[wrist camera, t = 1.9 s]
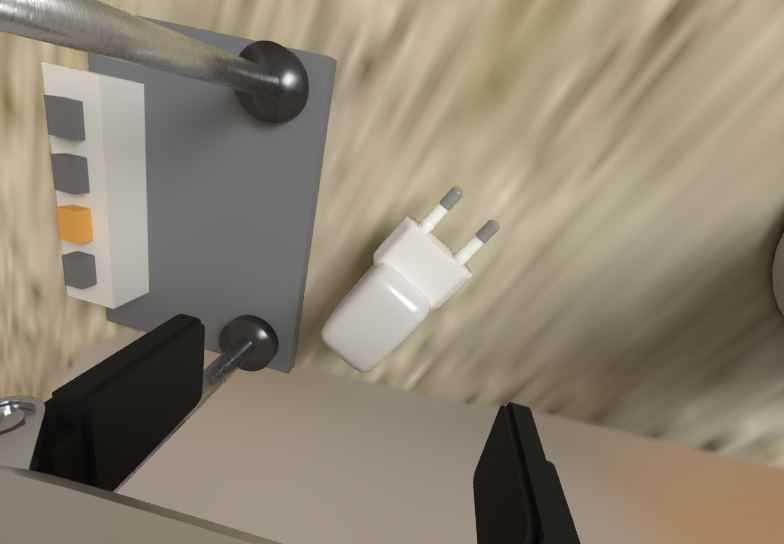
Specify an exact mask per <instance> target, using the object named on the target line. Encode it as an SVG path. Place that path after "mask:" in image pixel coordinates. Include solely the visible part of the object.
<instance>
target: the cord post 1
mask: <svg viewBox="0 0 784 544" xmlns="http://www.w3.org/2000/svg"><path fill="white" fill-rule="evenodd" d="M0 31H2V32H6V33H10V34H14V35H18V36H22V37H26V38H30V39H34V40H38V41H42V42H46V43H50V44H54V45H58V46H62V47H67V48H71V49H75V50H79V51H83V52H87V53H91V54H95V55H99V56H103V57H107V58H111V59H115V60H119V61H123V62H127V63H131V64H135V65H139V66H143V67H147V68H151V69H156V70H160V71H164V72H168V73H172V74H176V75H180V76H184V77H188V78H192V79H196V80H200V81H204V82H208V83H212V84H216V85H220V86H224V87H228V88H232V89H234V90H235V94H236V96H237V99H238V101H239V102H240V104H241V106H242V107H243V108H244V110H245V111H246V112H247V113H248V114H250V115H251V116H252V117H254V118H255V119H258V120H260V121H263V122H269V123H286V122H289V121H291V120H293V119H294V118H296V117H297V116H298V115H299V114H300V113H301V112H302V110H303V109H304V107H305V105H306V102H307V99H308V94H309V81H308V76H307V72H306V70H305V68H304V66H303V64H302V62H301V61H300V59H299V58H298V57H297V56H296V55H295V54H294V53H293V52H291V51H290V50H288V49H287V48H285V47H283V46H281V45H279V44H277V43H275V42H271V41H257V42H254V43H252V44H250V45H248V46H247V47H246V48H244V50H243V51H242V52H241V53H240V55H239V56H236V55H233V54H231V53H228V52H226V51H223V50H221V49H218V48H216V47H213V46H211V45H208V44H206V43H203V42H201V41H198V40H196V39H193V38H191V37H188V36H186V35H183V34H181V33H178V32H176V31H173V30H171V29H168V28H165V27H163V26H160V25H158V24H155V23H153V22H150V21H148V20H145V19H143V18H140V17H138V16H135V15H133V14H130V13H128V12H125V11H123V10H120V9H118V8H115V7H113V6H110V5H108V4H105V3H103V2H100V1H98V0H0Z"/></svg>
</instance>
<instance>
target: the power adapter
mask: <svg viewBox="0 0 784 544" xmlns="http://www.w3.org/2000/svg"><path fill="white" fill-rule="evenodd" d="M462 196H463V191H462V189H461V188H459V187H453V188H452V189H451V190H450V191H449V192H448V193H447V194H446V195H445V196H444V197H443V199H442V200H441V201H440V203H439V204H438V205H437V206H436V207H435V208H434V209H433V210H432V212H431V213H430V214H429V215H428V216H427V217H425V218H424V219H423V220H422V222H421V223H419V222H418V221H417V220H416V219H414V218H412V217H409V216H407V217H406V218H405V219H404V220H403V221H402V222H401V223H400V224H399V225H398V226H397V227H396V228H395V230H394V231H393V232H392V233H391V234H390V235H389V236H388V237H387V239H386V240H385V241H384V242H383V243H382V244H381V245H380V247H379V248H378V249H377V250H376V251H375V253H374V256H373V260H374V264H373V265H372V266H371V267H370V269H369V270H368V271H367V272H366V273H365V274H364V275H363V276H362V277H361V279H360V280H359V281H358V282H357V283H356V284H355V285H354V286H353V288H352V289H351V290H350V291H349V292H348V293H347V295H346V296H345V297H344V298H343V299H342V301H341V302H340V303H339V305H338V306H337V307H336V309H335V310H334V311H333V313H332V314H331V315H330V317H329V318H328V319H327V321H326V322H325V324H324V326H323V328H322V330H321V338H322V341H323V342H324V343H325V344H326V345H327V346H328V347H329V348H330V349H331V350H332V351H333V352H335V353H336V354H337V355H338V356H339V357H341V358H342V359H343V360H344V361H345V362H347V363H348V364H349V365H350V366H352V367H353V368H354V369H356V370H357V371H359V372H369V371H371V370H372V369H373V368H375V367H376V366H377V365H378V364H379V363H380V362H381V361H382V360H383V359H385V358H386V357H387V356H388V355H389V354H390V353H391V352H392V351H393V350H394V349H395V348H396V347H397V346H398V345H399V344H400V343H401V342H402V341H403V340H404V339H405V338H407V337H408V336H409V335H410V334H411V333H412V332H413V331H414V330H415V329H416V328H417V327H418V325H419V324H420V323H421V322H422V321H423V320H424V319H425V317H426V316H427V314H428V312H429V310H435V309H437V308H439V307H440V306H441V305H442V304H443V303H444V302H445V301H446V300H447V299H448V298H449V297H451V296H452V295H453V294H454V293H455V292H456V291H457V290H458V289H459V288H460V287H461V286H462V285H463V284H464V283H465V282H466V281H467V280H468V279H469V278H470V277H471V276H472V272H471V271H470V269H469V268H468V267H467V265H466V264H465V263H466V262H467V261H468V260H469V259H470V258H471V256H472V255H473V254H474V253H475V252H476V251H477V250H478V249H479V248H480V247H481V246H482V245H483V244H484V243H486V242H487V241H488V240H489V239H490V238H491V237H492V236H493V235H494V234H495V233H496V232H497V231H498V230H499V224H498V222H497V221H495V220H489V221H488V222H487V223H486V224H485V225H484V226H483V227H482V228H481V229H480V230H479V231H478V232H477V233H476V234H475V236H474V237H473V238H472V239H471V240H470V241H469V242H468V243H467V244H466V245H465V246H464V247H463V248H461V249H460V250H459V251H458V252H457V253H456V254H454V253H453V252H452V251H451V250H450V249H449V248H448V247H447V246H445V245H444V244H443V243H442V242H441V241H440V240H439V239H438V238H436V237H435V236H434V235H433V234H432V233H431V232H430V231H431V230H432V229H433V228H434V227H435V226H436V224H437V223H438V222H439V221H440V219H441V218H442V217H443V216H444V215H445V214H446V213H447V212H448V211H450V210H451V208H452V207H453V206H454V205H455V204H456V203H457V202H458V201H459V200H460V199H461V198H462Z"/></svg>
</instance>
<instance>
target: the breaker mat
mask: <svg viewBox="0 0 784 544" xmlns="http://www.w3.org/2000/svg"><path fill="white" fill-rule="evenodd" d="M135 16H136V15H135ZM138 17H140V18H143V19H145V20H148V21H150V22H153V23H155V24H158V25H160V26H163V27H165V28H168V29H171V30H173V31H176V32H178V33H181V34H183V35H186V36H188V37H191V38H193V39H196V40H198V41H201V42H203V43H206V44H208V45H211V46H213V47H216V48H218V49H221V50H223V51H226V52H228V53H231V54H233V55H236V56H239V55H240V53H241V52H242V51H243V50H244V48H246V47H247V46H248V45H250V44H252V43H254V42H257V41H254V40H249V39H244V38H239V37H235V36H230V35H225V34H221V33H216V32H211V31H206V30H202V29H197V28H192V27H188V26H183V25H178V24H174V23H169V22H164V21H159V20H155V19H150V18H145V17H141V16H138ZM285 48H286V47H285ZM287 49H288V50H290V51H291V52H293V53H294V54H295V55H296V56H297V57H298V58H299V59H300V61H301V62H302V64H303V66H304V68H305V70H306V72H307V76H308V81H309V94H308V99H307V102H306V105H305V107H304V109H303V110H302V112H301V113H300V114H299V115H298V116H297V117H296V118H294V119H293V120H291V121H289V122H286V123H269V122H263V121H260V120H258V119H255V118H254V117H252V116H251V115H250V114H248V113H247V112H246V111H245V110H244V108H243V107H242V106H241V104H240V102H239V101H238V99H237V96H236V94H235V90H234V89H232V88H228V87H224V86H220V85H216V84H212V83H208V82H204V81H200V80H196V79H192V78H188V77H184V76H180V75H176V74H172V73H168V72H164V71H160V70H156V69H151V68H147V67H143V66H139V65H135V64H131V63H127V62H123V61H119V60H115V59H111V58H107V57H103V56H99V55H95V54H91V53H88V64H89V71H84V70H79V69H74V68H69V67H64V66H59V65H54V64H49V63H43V62H42V68H43V77H44V86H45V95H44V100H45V109H46V118H47V127H48V135H50V140H51V149H52V154H51V162H52V171H53V180H54V189H55V190H56V194H57V203H58V207H57V216H58V225H59V233H60V240H62V248H63V255H62V260H63V269H64V278H65V285H67V293H68V296H71V297H74V298H78V299H81V300H84V301H88V302H91V303H95V304H98V305H102V306H105V307H106V316H107V320H108V321H111V322H115V323H118V324H121V325H125V326H128V327H132V328H135V329H139V330H142V331H145V332H150V331H152V330H153V329H155V328H156V327H158V326H160V325H161V324H163V323H164V322H166V321H168V320H169V319H171V318H173V317H174V316H176V315H178V314H186V315H189V316H193V317H197V318H199V319H200V320H201V324H203V325H204V326H205V342H204V349H207V350H210V351H214V352H217V353H221V354H223V353H222V351H221V348H220V344H219V337H220V333H221V331H222V329H223V328H224V327H225V326H226V325H227V324H228V323H230V322H231V321H232V320H234V319H235V318H237V317H238V316H241V315H253V316H257V317H259V318H261V319H263V320H265V321H266V322H267V323H268V324H270V325H271V327H272V328H273V329H274V331H275V333H276V335H277V337H278V342H279V347H278V351H277V354H276V355H275V357H274V358H273V359H272V360H271V361H270V363H269V364H268V365H267V366H266V367H268V368H271V369H275V370H278V371H282V372H285V373H289V372H290V371H291V369H292V368H293V367H294V363H295V356H296V349H297V341H298V334H299V327H300V320H301V313H302V306H303V298H304V291H305V284H306V277H307V270H308V262H309V255H310V248H311V241H312V234H313V227H314V219H315V212H316V205H317V198H318V191H319V184H320V176H321V169H322V162H323V155H324V148H325V140H326V133H327V126H328V119H329V112H330V105H331V97H332V90H333V83H334V76H335V69H336V62H337V61H336V60H335V59H333V58H332V57H329V56H324V55H319V54H315V53H310V52H305V51H301V50H296V49H291V48H287Z"/></svg>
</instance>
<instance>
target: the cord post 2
mask: <svg viewBox="0 0 784 544" xmlns="http://www.w3.org/2000/svg"><path fill="white" fill-rule="evenodd" d="M219 344H220V348H221V351H222V353H223V354H222V355H221V356H219V357H218V358H217V359H216V360H215V361H214V362H213V363H211V364H210V365H209V366H208V367H207V368H206V369H205V370H203V391H202V397H201V400H200V402H199V403H198V405H197V406H196V407H195V408H194V409H193V410H192V411H191V412H190V413H189V414H188V415H187V416H186V417H185V418H184V419H183V420H182V421H181V422H180V423H179V424H178V425H177V427H176V428H175V429H174V430H173V431H172V432H171V433H170V434H169V435H168V436H167V437H166V438H165V439H164V440H163V441H162V442H161V443H160V444H159V445H158V446H157V447H156V448H155V449H154V450H153V451H152V452H151V453H150V454H149V455H148V456H147V457H146V459H145V460H144V461H143V462H142V463H141V464H140V465H139V466H138V467H137V468H136V469H135V470H134V471H133V472H132V473H131V474H130V475H129V476H128V477H127V478H126V479H125V480H124V481H123V482H122V483H121V484H120V485H119V486H118V487H117V488H116V489H115V491H114V493H116V492H117V491H118V490H119V489H120V488H121V487H122V486H123V485H124V484H125V483H126V482H127V480H129V479H130V478H131V477H132V476H133V475H134V474H135V472H136V471H137V470H138V469H139V468H140V467H141V466H142V465H143V464H144V463H145V462H146V461H147V460H148V459H149V458H150V457H151V456H152V455H153V454H154V453H155V452H156V451H157V450H158V449H159V448H160V447H161V446H162V445H163V444H164V443H165V442H166V441H167V440H168V439H169V438H170V437H171V436H172V435H173V434H174V433H175V432H176V431H177V430H178V429H179V428H180V427H181V426H182V425H183V424H184V423H185V422H186V421H187V420H188V419H189V418H190V417H191V416H192V415H193V414H194V413H195V412H196V411H197V410H198V409H199V407H201V406H202V404H203V403H205V402H206V400H207V399H208V398H209V397H210V396H211V395H212V394H213V393H214V392H215V391H216V390H217V389H218V388H219V387H220V386H221V385H222V384H223V383H224V382H225V381H226V380H227V379H228V378H229V377H230V376H231V375H232V374H233V373H234V372H235V371H236V370H237V369H238V368H240V369H242V370H245V371H258V370H261V369H263V368H264V367H266V366H267V365H268V364H269V363H270V361H271V360H272V359H273V358H274V357H275V355H276V354H277V351H278V347H279V342H278V337H277V335H276V333H275V331H274V329H273V328H272V327H271V325H270V324H268V323H267V322H266V321H265V320H263V319H261V318H259V317H257V316H253V315H241V316H238V317H237V318H235V319H234V320H232V321H231V322H230V323H228V324H227V325H226V326H225V327H224V328H223V329H222V331H221V333H220V337H219Z"/></svg>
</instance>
